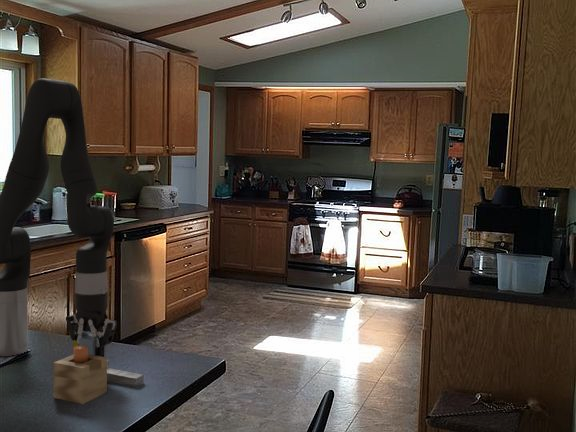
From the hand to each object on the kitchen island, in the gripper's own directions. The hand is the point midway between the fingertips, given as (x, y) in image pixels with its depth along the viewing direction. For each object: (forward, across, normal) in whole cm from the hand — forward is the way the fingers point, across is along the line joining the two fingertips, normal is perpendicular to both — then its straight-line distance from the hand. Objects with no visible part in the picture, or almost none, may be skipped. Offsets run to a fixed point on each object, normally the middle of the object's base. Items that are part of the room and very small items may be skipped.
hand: (91, 359), depth 158 cm
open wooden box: (+4, +6, -11) cm, 13 cm away
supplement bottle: (+4, -10, +9) cm, 14 cm away
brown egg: (-3, +6, -11) cm, 13 cm away
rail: (+4, +5, 0) cm, 6 cm away
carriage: (+4, 0, 0) cm, 4 cm away
